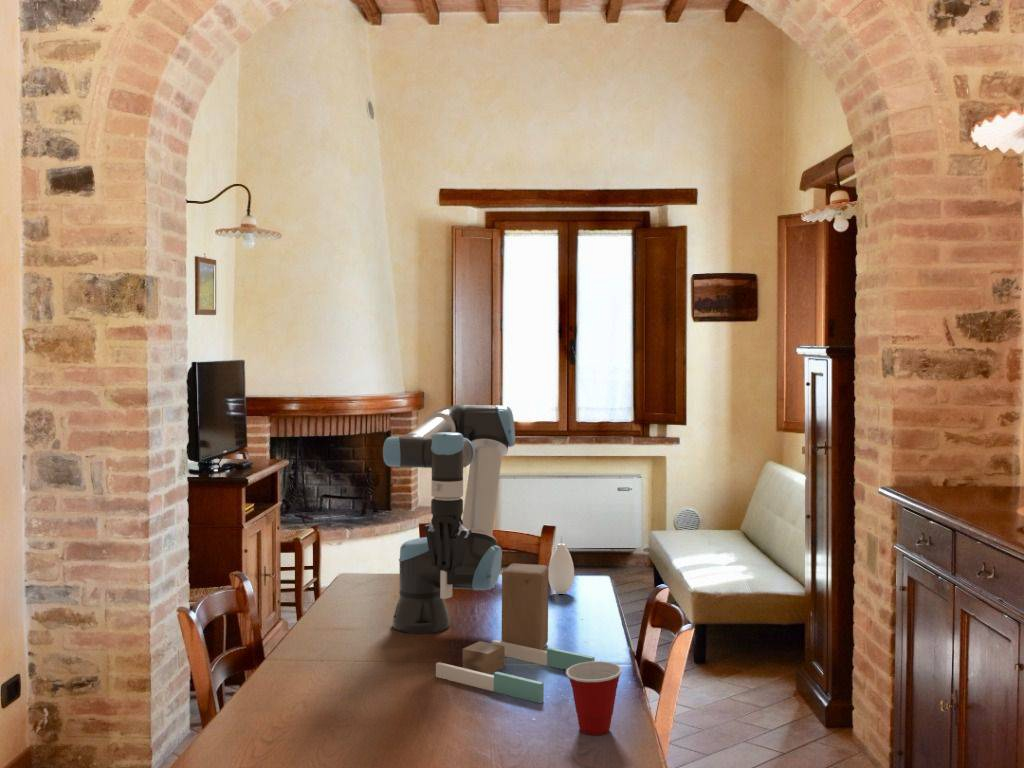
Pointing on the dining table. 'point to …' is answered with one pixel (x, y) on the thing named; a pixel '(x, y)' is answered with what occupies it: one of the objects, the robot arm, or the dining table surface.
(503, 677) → the walled lane
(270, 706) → the dining table surface
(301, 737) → the dining table surface
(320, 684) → the dining table surface
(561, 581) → the sauce bottle
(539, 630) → the wooden block
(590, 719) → the plastic cup
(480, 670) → the walnut block
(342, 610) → the dining table surface
